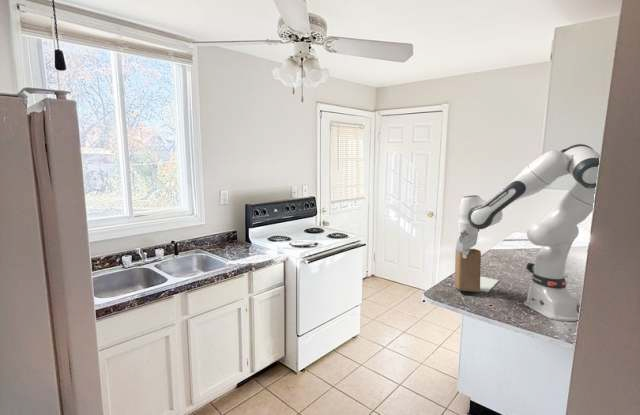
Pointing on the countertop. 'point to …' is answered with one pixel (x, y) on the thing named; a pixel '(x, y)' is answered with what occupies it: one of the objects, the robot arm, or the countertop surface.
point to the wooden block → (468, 271)
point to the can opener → (530, 267)
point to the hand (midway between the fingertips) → (465, 257)
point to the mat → (487, 284)
